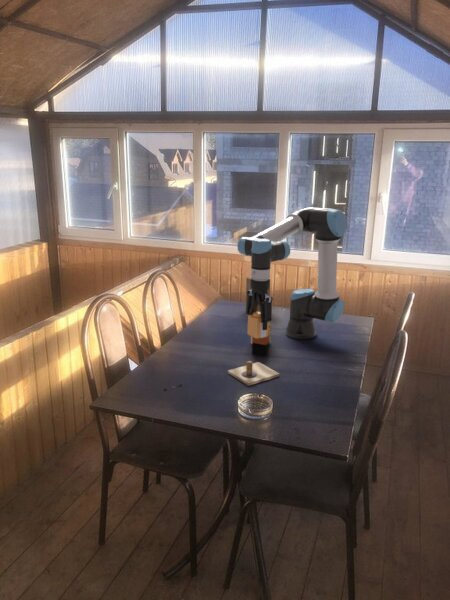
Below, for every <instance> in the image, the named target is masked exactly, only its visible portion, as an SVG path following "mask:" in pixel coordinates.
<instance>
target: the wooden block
mask: <svg viewBox="0 0 450 600" xmlns="http://www.w3.org/2000/svg"><path fill="white" fill-rule="evenodd" d="M251 279H252V278H251V276H247V277H246V284H245V285H246V287H245V288H246V289H245V292H246V294H245V308H246V307H247V291H248V290H252V289H251V288H250V281H251ZM269 280H270V281H271V278H269ZM270 291H271V284H270V285H269V289H268V290H267V293H268V296H269V297H271V292H270ZM262 303H264V302H262ZM249 311H250V310H249ZM256 312H260V306H259V305H258V306H257V310H256Z"/></svg>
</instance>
